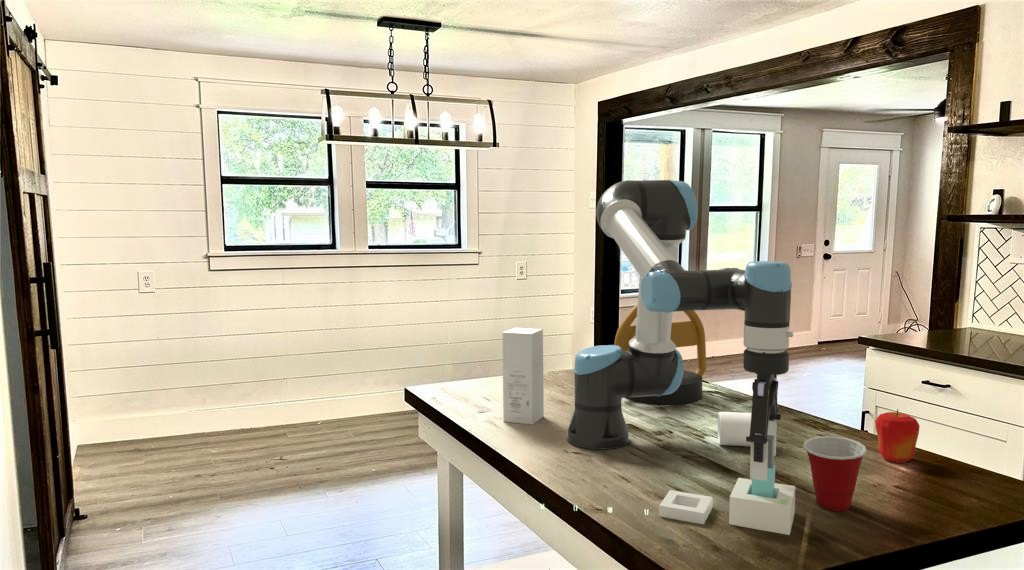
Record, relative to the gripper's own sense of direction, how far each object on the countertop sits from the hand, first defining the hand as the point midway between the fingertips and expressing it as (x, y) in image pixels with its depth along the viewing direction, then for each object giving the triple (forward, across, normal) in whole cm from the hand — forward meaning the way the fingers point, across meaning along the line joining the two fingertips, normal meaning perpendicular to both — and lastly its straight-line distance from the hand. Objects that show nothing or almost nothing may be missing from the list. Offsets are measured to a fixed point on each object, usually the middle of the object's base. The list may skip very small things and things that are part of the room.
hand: (763, 466), depth 123 cm
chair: (+11, +84, +40) cm, 94 cm away
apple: (+11, +48, -23) cm, 54 cm away
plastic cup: (+11, +14, -11) cm, 21 cm away
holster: (+11, -3, +13) cm, 17 cm away
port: (+11, 0, 0) cm, 11 cm away
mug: (+11, +46, +11) cm, 48 cm away
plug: (+9, 0, 0) cm, 9 cm away
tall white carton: (+11, +42, +68) cm, 81 cm away
